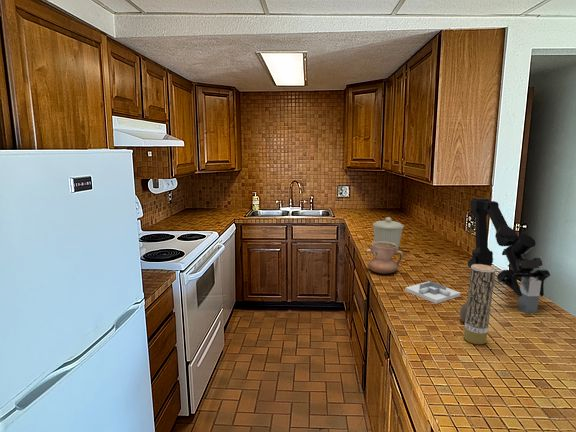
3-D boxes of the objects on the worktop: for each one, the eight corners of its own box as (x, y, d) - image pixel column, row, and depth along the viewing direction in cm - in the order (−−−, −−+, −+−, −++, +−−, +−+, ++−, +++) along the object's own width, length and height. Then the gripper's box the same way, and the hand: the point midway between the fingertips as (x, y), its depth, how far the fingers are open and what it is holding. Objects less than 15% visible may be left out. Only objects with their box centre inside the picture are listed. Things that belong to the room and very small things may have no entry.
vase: (468, 328, 133) (470, 304, 132) (454, 319, 140) (457, 297, 138) (484, 326, 135) (487, 302, 133) (470, 317, 142) (472, 295, 140)
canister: (405, 256, 221) (408, 220, 217) (374, 255, 221) (376, 219, 217) (397, 247, 238) (399, 214, 235) (368, 247, 239) (370, 214, 235)
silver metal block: (517, 308, 150) (521, 277, 148) (528, 308, 151) (532, 277, 148) (525, 313, 146) (529, 281, 144) (536, 313, 146) (541, 281, 144)
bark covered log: (466, 333, 130) (474, 262, 125) (488, 339, 125) (497, 267, 121) (460, 340, 124) (468, 267, 120) (483, 347, 120) (492, 272, 116)
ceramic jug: (366, 275, 187) (367, 247, 184) (364, 266, 201) (366, 239, 198) (403, 277, 184) (406, 249, 182) (399, 268, 198) (401, 241, 196)
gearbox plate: (428, 284, 175) (429, 277, 175) (460, 296, 162) (461, 288, 161) (405, 290, 167) (405, 283, 166) (436, 303, 154) (436, 295, 153)
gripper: (505, 250, 147) (520, 287, 139) (550, 250, 149) (568, 287, 140) (490, 263, 156) (504, 299, 148) (533, 263, 158) (549, 298, 149)
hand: (531, 295), depth 146 cm, fingers open, 8 cm apart
